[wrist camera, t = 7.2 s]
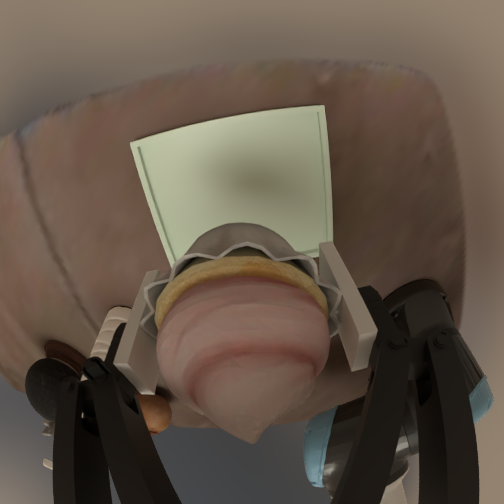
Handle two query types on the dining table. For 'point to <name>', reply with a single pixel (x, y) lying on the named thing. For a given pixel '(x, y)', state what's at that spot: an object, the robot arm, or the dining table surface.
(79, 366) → the black ball on stand
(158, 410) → the onion
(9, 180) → the dining table surface
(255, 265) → the cupcake
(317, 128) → the tray
